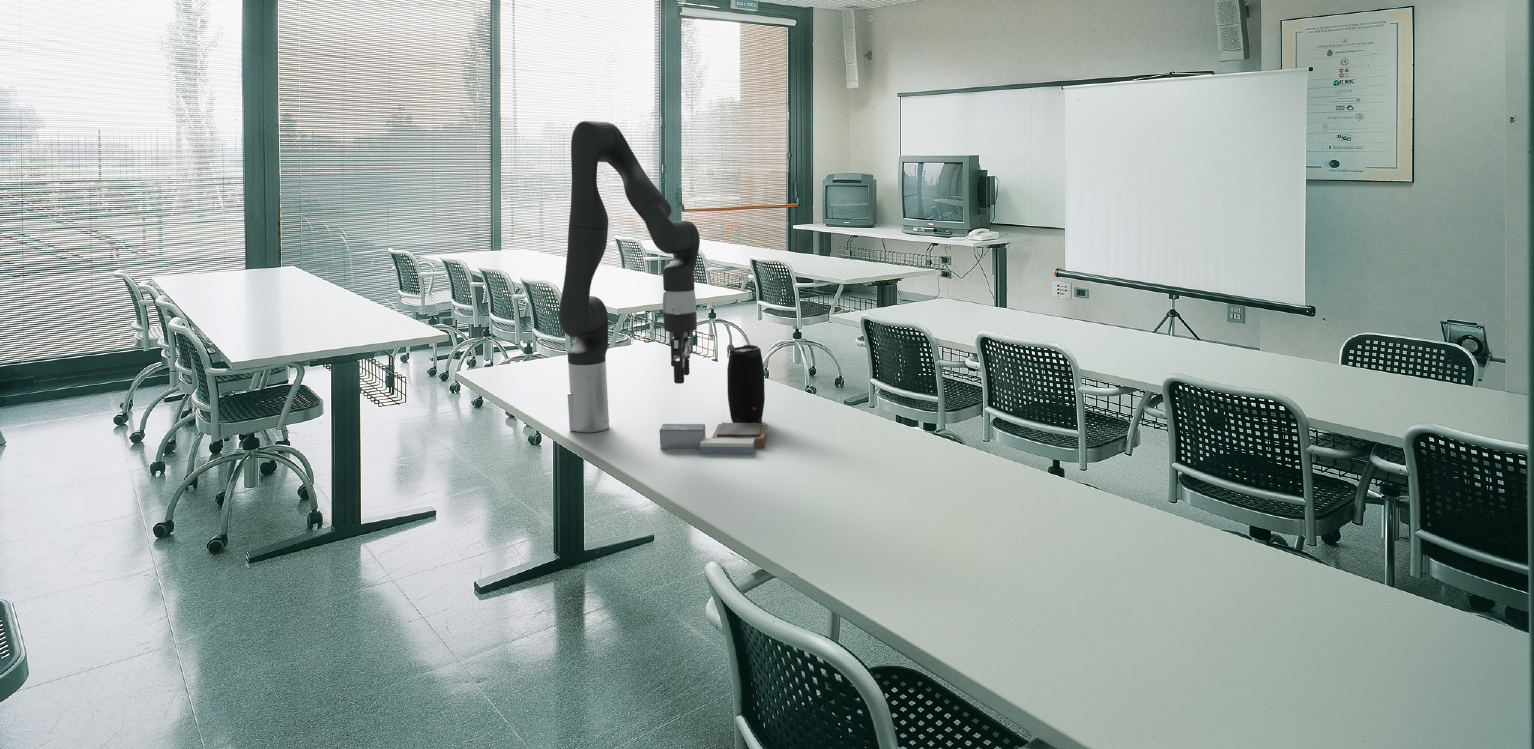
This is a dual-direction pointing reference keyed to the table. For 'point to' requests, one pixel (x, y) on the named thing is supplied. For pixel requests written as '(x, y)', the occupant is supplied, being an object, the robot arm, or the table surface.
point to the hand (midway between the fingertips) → (682, 378)
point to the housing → (681, 436)
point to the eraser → (727, 446)
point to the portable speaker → (746, 384)
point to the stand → (743, 432)
